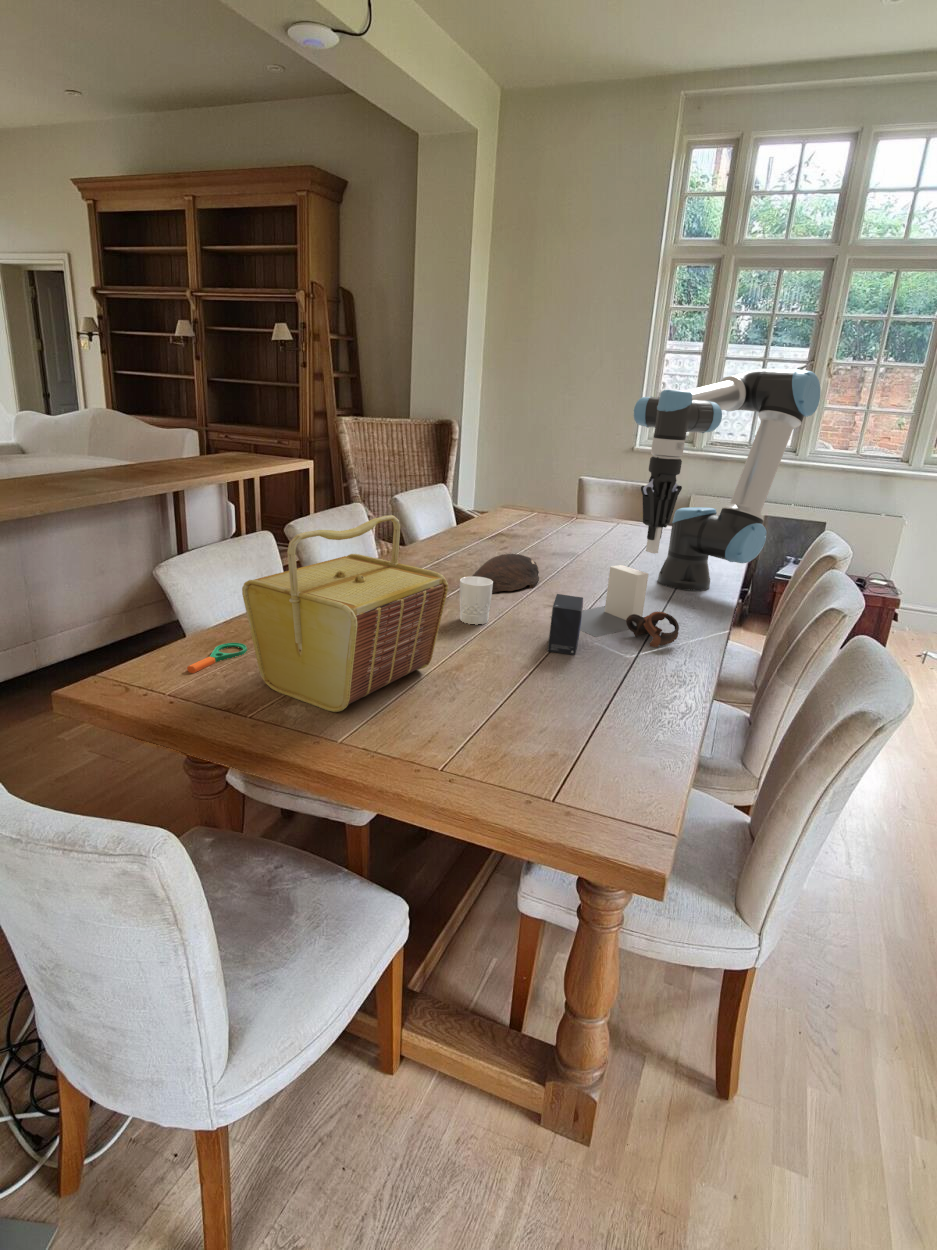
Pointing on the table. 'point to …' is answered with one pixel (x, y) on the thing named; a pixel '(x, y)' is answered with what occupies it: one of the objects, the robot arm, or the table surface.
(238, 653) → the magnifying glass
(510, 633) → the table surface
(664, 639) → the brown curved piece
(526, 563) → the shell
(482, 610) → the white cup
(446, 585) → the picnic basket
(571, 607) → the small box
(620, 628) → the mat
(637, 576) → the tall block
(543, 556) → the table surface
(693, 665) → the table surface
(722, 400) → the robot arm
